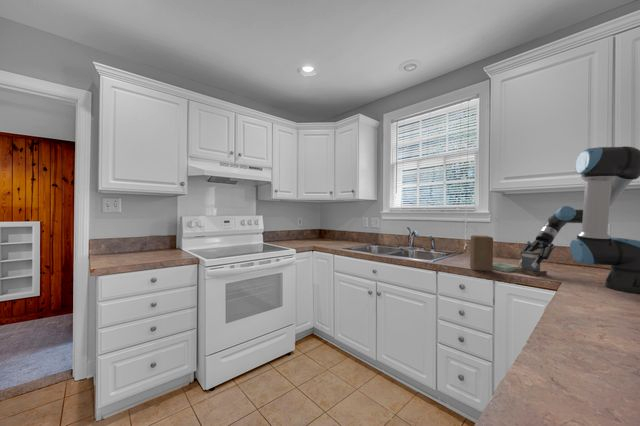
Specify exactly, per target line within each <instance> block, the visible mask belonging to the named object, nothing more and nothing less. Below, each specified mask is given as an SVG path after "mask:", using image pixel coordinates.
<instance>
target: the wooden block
mask: <svg viewBox="0 0 640 426" xmlns="http://www.w3.org/2000/svg"><path fill="white" fill-rule="evenodd" d="M469 252H470V253H469V254H470V255H469V256H470V257H469V258H470V261H469V264H470V265H469V266H470V268H471V269H472V270H473V271H475V272H476V271H477V272H478V271H479V272H489V273H490V272H492V271H493V270H494V269H493V263H494V262H493V261H494V238H493V237H492V236H489V235H474V234H473V235H471V236H470V251H469Z"/></svg>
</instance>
